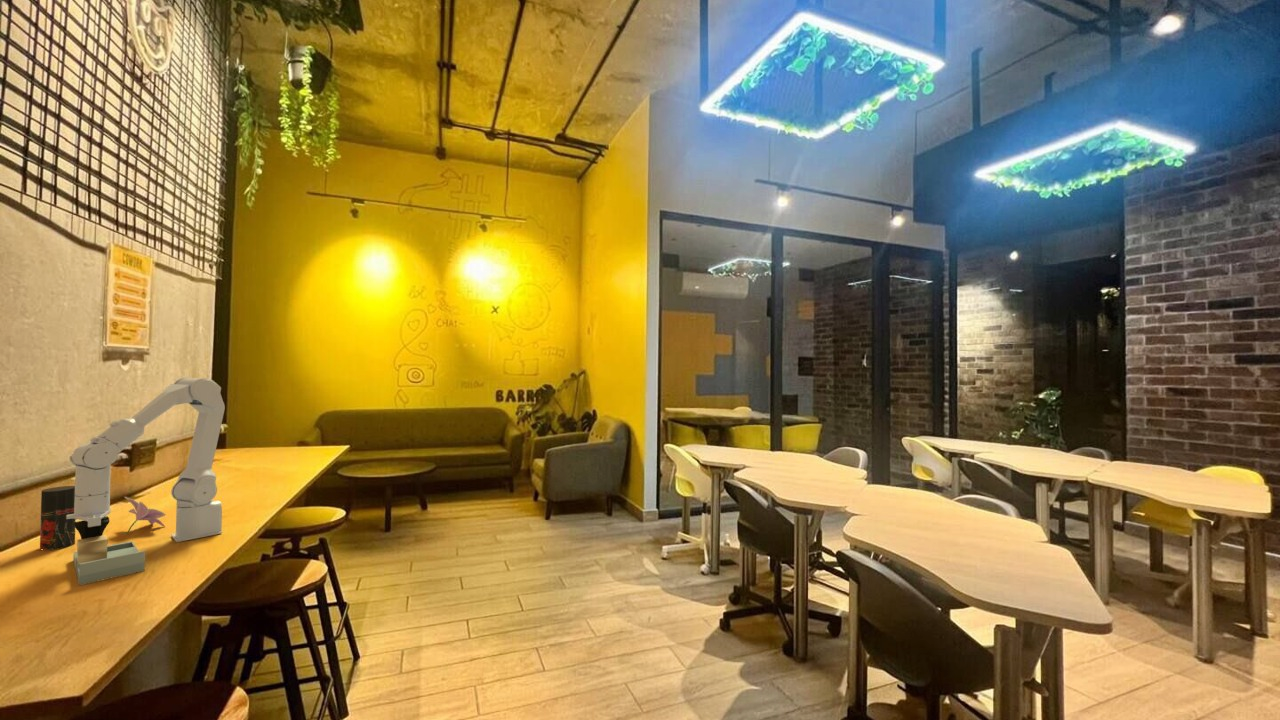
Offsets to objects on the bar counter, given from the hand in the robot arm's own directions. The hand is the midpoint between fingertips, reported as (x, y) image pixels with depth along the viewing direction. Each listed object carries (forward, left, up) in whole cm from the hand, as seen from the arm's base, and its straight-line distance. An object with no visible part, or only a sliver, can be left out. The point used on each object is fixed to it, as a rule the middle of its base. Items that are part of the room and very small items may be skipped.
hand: (91, 550), depth 118 cm
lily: (-12, -24, -3) cm, 27 cm away
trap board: (-3, +5, -3) cm, 7 cm away
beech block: (0, +4, -1) cm, 4 cm away
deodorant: (+4, -22, -3) cm, 23 cm away
